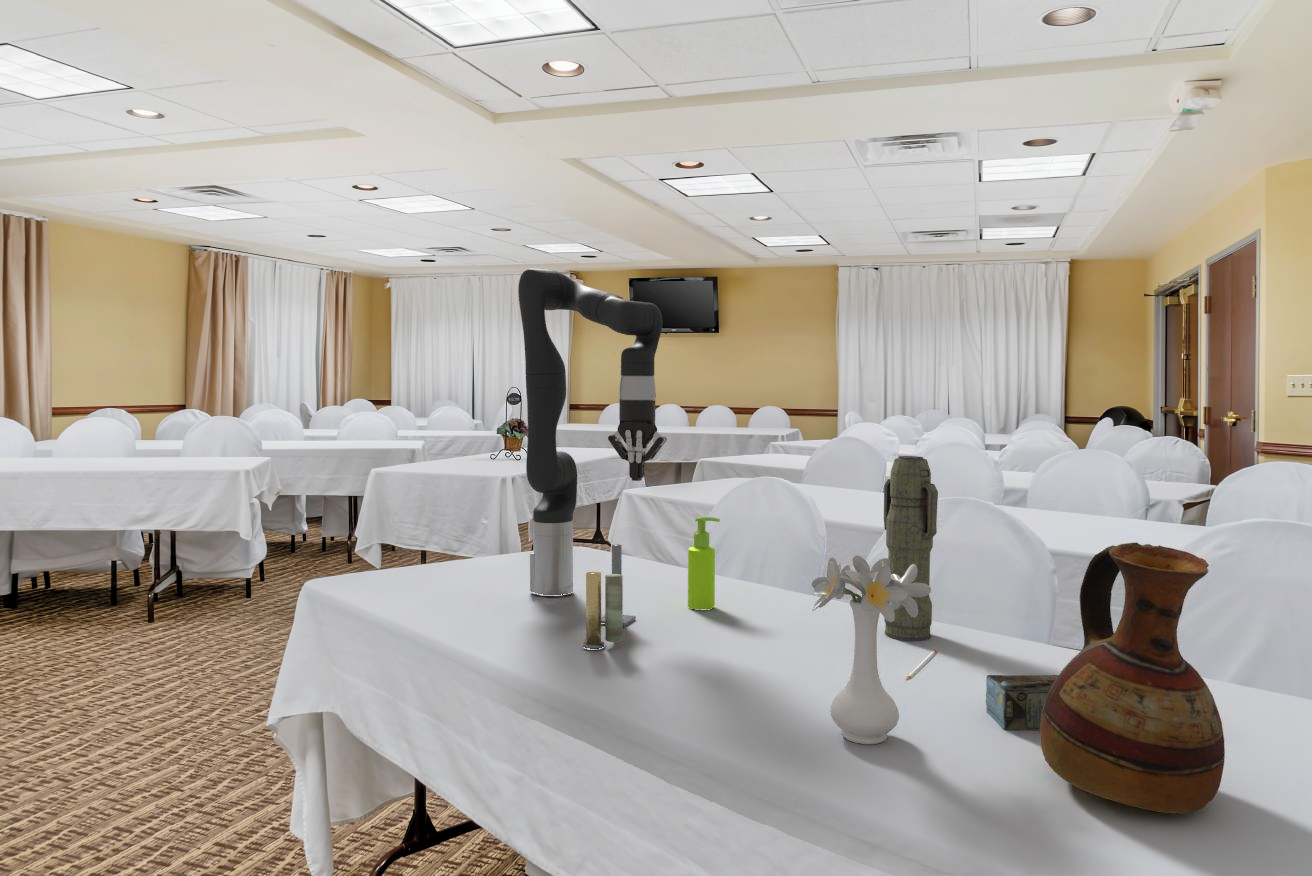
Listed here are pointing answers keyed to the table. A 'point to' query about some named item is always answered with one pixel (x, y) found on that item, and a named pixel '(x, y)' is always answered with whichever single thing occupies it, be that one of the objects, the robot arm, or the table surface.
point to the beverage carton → (1017, 699)
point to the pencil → (921, 665)
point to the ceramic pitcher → (1135, 691)
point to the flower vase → (867, 642)
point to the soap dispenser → (701, 569)
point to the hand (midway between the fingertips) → (636, 480)
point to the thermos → (910, 538)
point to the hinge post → (618, 570)
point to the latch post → (593, 611)
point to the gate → (614, 607)
